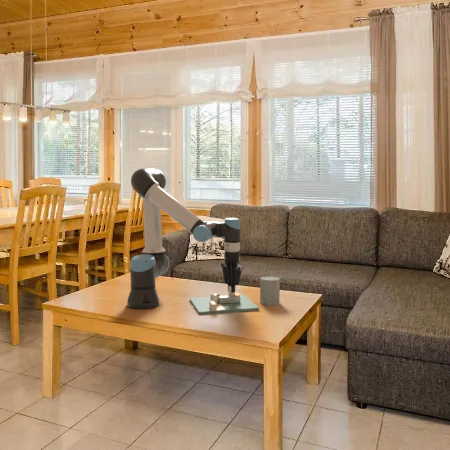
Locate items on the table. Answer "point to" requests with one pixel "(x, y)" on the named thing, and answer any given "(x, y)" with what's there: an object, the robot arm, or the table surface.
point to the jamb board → (222, 305)
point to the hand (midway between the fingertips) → (231, 298)
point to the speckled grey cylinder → (269, 290)
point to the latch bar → (225, 298)
